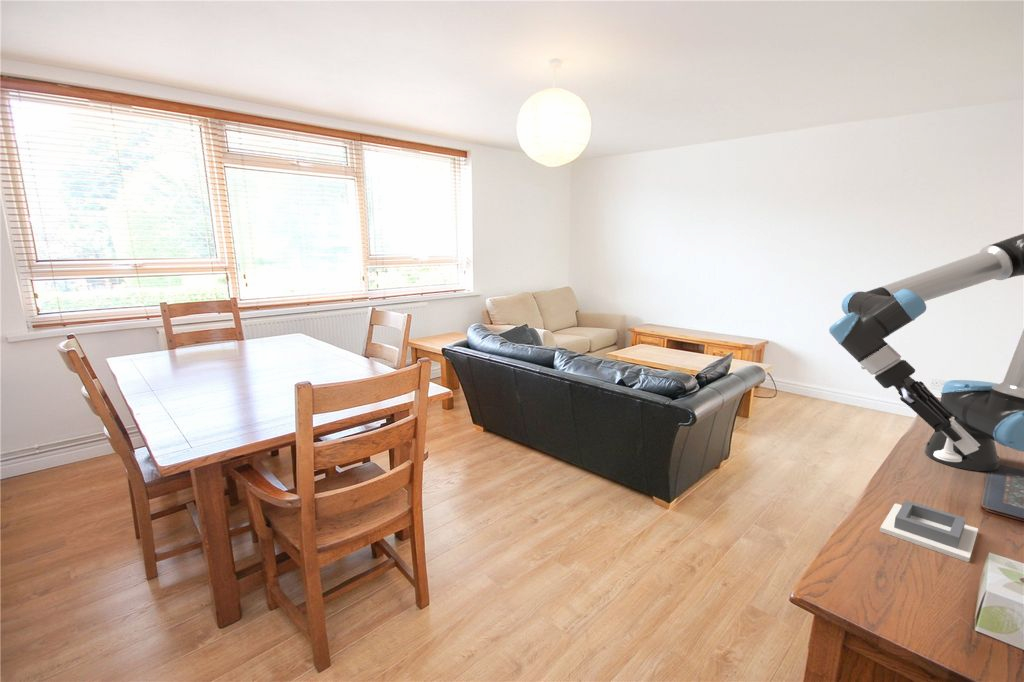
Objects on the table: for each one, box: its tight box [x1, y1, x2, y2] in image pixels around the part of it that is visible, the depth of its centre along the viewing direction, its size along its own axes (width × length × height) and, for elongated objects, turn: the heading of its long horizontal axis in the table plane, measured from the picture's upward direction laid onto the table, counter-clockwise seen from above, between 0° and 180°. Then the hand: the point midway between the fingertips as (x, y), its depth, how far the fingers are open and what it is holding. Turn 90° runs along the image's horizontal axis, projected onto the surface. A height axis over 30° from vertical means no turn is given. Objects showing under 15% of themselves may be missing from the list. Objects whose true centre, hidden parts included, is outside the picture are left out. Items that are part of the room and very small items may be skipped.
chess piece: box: [933, 417, 962, 462], centre depth 106 cm, size 5×5×10 cm
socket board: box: [879, 499, 979, 563], centre depth 99 cm, size 14×14×4 cm
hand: (972, 449), depth 104 cm, fingers closed on chess piece, 2 cm apart
